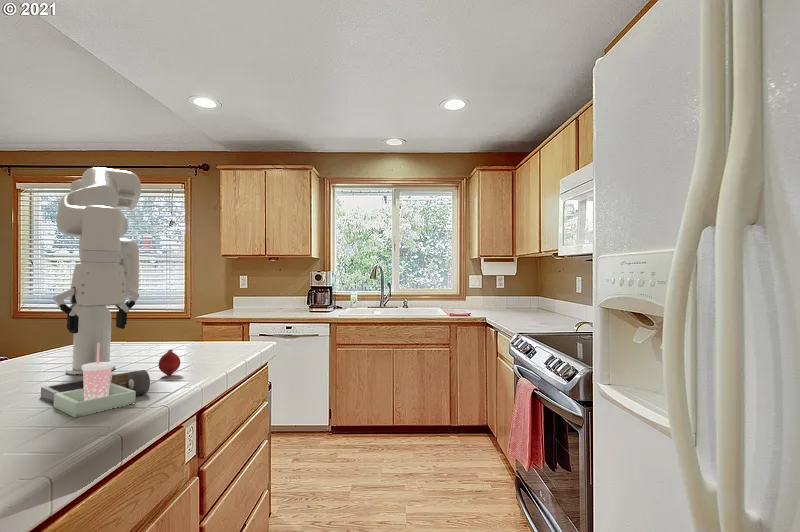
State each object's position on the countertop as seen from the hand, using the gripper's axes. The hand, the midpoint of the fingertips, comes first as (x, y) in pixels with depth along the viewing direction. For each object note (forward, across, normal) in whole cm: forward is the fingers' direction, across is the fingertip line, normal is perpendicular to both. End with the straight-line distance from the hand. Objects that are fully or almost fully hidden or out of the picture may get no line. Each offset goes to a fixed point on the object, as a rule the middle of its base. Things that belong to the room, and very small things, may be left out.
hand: (97, 330), depth 98 cm
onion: (+18, -25, -13) cm, 34 cm away
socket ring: (+18, 0, -11) cm, 21 cm away
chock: (+18, -10, -6) cm, 21 cm away
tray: (+18, 0, +1) cm, 18 cm away
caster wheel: (+18, -10, 0) cm, 20 cm away
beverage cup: (+17, 0, +1) cm, 17 cm away
